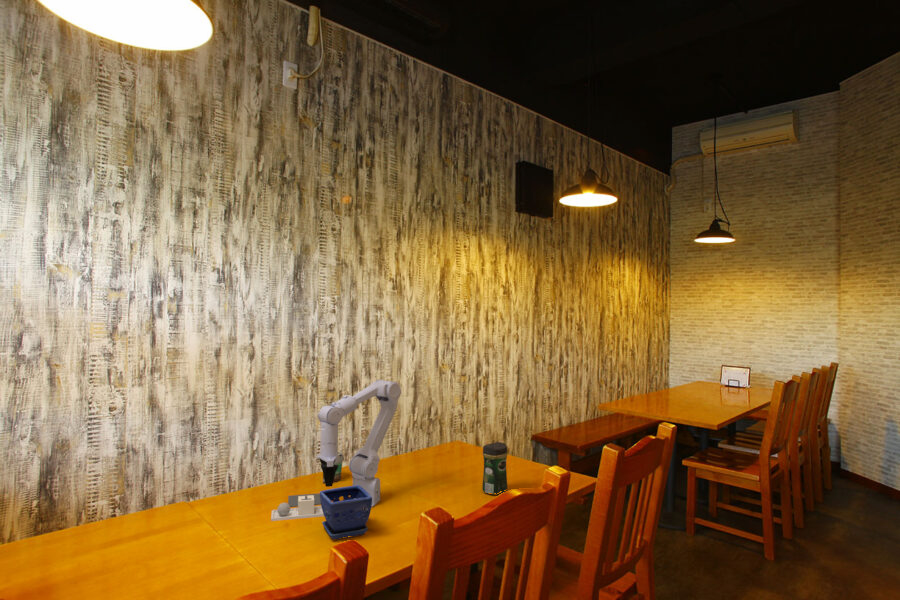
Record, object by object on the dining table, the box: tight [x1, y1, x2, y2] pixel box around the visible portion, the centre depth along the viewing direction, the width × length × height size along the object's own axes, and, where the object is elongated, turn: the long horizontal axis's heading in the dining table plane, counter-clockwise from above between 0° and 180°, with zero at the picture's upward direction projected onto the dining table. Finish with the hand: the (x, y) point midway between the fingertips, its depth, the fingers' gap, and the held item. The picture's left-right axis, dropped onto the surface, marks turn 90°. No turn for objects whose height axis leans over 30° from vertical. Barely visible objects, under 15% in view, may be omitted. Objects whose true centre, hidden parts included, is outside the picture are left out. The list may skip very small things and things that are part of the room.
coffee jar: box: [481, 441, 508, 495], centre depth 199 cm, size 10×8×19 cm
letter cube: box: [297, 495, 315, 516], centre depth 173 cm, size 5×5×5 cm
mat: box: [287, 492, 321, 508], centre depth 185 cm, size 11×11×1 cm
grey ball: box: [277, 502, 291, 516], centre depth 171 cm, size 4×4×4 cm
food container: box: [322, 451, 345, 485], centre depth 210 cm, size 12×6×10 cm, turn 168°
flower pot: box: [319, 485, 372, 540], centre depth 159 cm, size 13×13×12 cm
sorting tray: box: [270, 505, 325, 522], centre depth 173 cm, size 22×8×1 cm, turn 107°
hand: (328, 482), depth 175 cm, fingers open, 7 cm apart
